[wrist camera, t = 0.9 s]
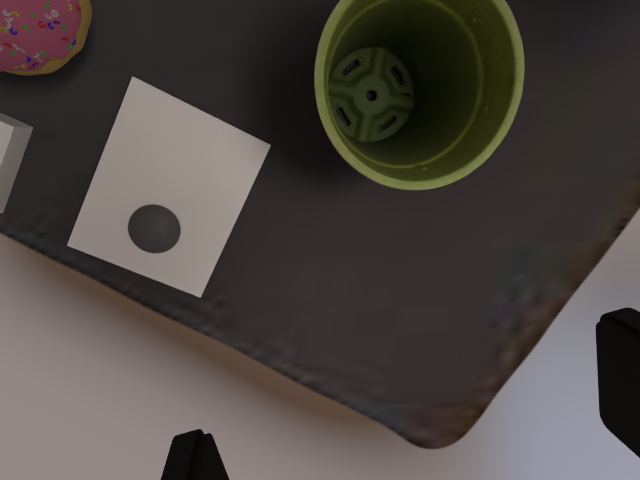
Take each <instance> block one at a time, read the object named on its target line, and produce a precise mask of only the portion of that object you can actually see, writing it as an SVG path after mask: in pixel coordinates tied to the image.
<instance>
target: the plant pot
mask: <svg viewBox="0 0 640 480" xmlns="http://www.w3.org/2000/svg"><path fill="white" fill-rule="evenodd" d="M370 57H371V58H370ZM354 60H359V65H358V66H356V67H355V68H353V69H352V70H351V71H350V72H348V74H347V75H346V76H345V75H344V73H343V72H342V71H343V70H344V68H345V67H347V66H348V65H350V64H351V62H353V61H354ZM392 67H396V68H397V69H398V71H399V72H400V74H401V75H402V78H403V84H399V83H398V81H397V79H396V77H395V76H394V74H393V73H392V71H391V68H392ZM523 81H524V52H523V45H522V40H521V36H520V33H519V29H518V26H517V24H516V21H515V18H514V16H513V14H512V12H511V10H510V8H509V6H508V4H507V3H506V1H505V0H340V1H339V3H338V4H337V5H336V7H335V8H334V10H333V12H332V13H331V15H330V17H329V19H328V20H327V23H326V25H325V27H324V29H323V32H322V35H321V38H320V41H319V44H318V50H317V55H316V60H315V70H314V89H315V97H316V103H317V108H318V112H319V116H320V119H321V121H322V124H323V127H324V129H325V131H326V133H327V135H328V137H329V139H330V141H331V142H332V144H333V145H334V147H335V148H336V150H337V151H338V152H339V154H340V155H341V156H342V157H343V158H344V159H345V160H346V161H347V162H348V163H349V164H350V165H351V166H352V167H353V168H354V169H356V170H357V171H358V172H360V173H361V174H363V175H364V176H366V177H367V178H369V179H371V180H373V181H375V182H377V183H379V184H382V185H385V186H388V187H392V188H397V189H403V190H425V189H432V188H437V187H441V186H444V185H447V184H450V183H453V182H455V181H457V180H459V179H461V178H463V177H465V176H466V175H468V174H469V173H471V172H472V171H473V170H475V169H476V168H478V167H479V166H480V165H481V164H482V163H484V162H485V161H486V160H487V159H488V158H489V157H490V155H491V154H492V153H493V152H494V151H495V149H496V148H497V147H498V146H499V144H500V143H501V141H502V140H503V138H504V137H505V135H506V134H507V132H508V130H509V128H510V126H511V124H512V122H513V120H514V117H515V115H516V112H517V109H518V106H519V103H520V99H521V95H522V90H523ZM369 91H374V92H375V93H376V98H375V99H374V100H373V101H372V100H369V99H368V97H367V93H368V92H369ZM400 93H407V94H411V95H412V97H411V96H407V95H402V94H400ZM333 96H334V97H335V98H334V97H333ZM338 108H342V110H343V112H344V113H345V115H346V117H347V119H348V120H349V121H350V122H351V123H350V125H348V126H347V125H345V124H344V122H343V121H342V120H341V118H340V117H339V115H338V113H337V109H338ZM392 117H395V118H397V119H396V120H395V121H394V122H393V123H392V124H391V125H390V126H389V127H388V128H386V129H384V130H382V129H381V126H382V125H384V124H385V123H387V122H388V121H389V120H390V119H391V118H392Z"/></svg>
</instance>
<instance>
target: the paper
mask: <svg viewBox="0 0 640 480" xmlns="http://www.w3.org/2000/svg"><path fill="white" fill-rule="evenodd" d="M270 146H271V145H270V144H268V143H266V142H264V141H262V140H260V139H258V138H256V137H254V136H252V135H249V134H247V133H245V132H243V131H241V130H239V129H237V128H235V127H233V126H231V125H229V124H227V123H225V122H223V121H221V120H219V119H217V118H215V117H213V116H211V115H209V114H207V113H205V112H203V111H201V110H199V109H197V108H195V107H193V106H191V105H189V104H187V103H185V102H183V101H181V100H179V99H177V98H175V97H173V96H171V95H169V94H167V93H165V92H163V91H161V90H159V89H157V88H155V87H153V86H151V85H149V84H147V83H145V82H143V81H141V80H139V79H137V78H135V77H133V76H132V79H131V81H130V84H129V86H128V89H127V92H126V94H125V97H124V99H123V102H122V104H121V107H120V110H119V112H118V115H117V117H116V120H115V123H114V125H113V128H112V130H111V133H110V135H109V138H108V141H107V143H106V146H105V148H104V151H103V154H102V156H101V159H100V161H99V164H98V166H97V169H96V172H95V174H94V177H93V179H92V182H91V185H90V187H89V190H88V192H87V195H86V197H85V200H84V203H83V205H82V208H81V210H80V213H79V215H78V218H77V221H76V223H75V226H74V228H73V231H72V234H71V236H70V239H69V241H68V244H67V246H69V247H72V248H74V249H77V250H80V251H82V252H85V253H87V254H90V255H92V256H95V257H97V258H100V259H103V260H105V261H108V262H110V263H113V264H115V265H118V266H121V267H123V268H126V269H128V270H131V271H133V272H136V273H138V274H141V275H144V276H146V277H149V278H151V279H154V280H156V281H159V282H162V283H164V284H167V285H169V286H172V287H174V288H177V289H179V290H182V291H185V292H187V293H190V294H192V295H195V296H197V297H200V298H201V296H202V293H203V291H204V289H205V287H206V285H207V283H208V280H209V278H210V276H211V274H212V272H213V270H214V267H215V265H216V263H217V261H218V259H219V257H220V254H221V252H222V250H223V248H224V246H225V244H226V241H227V239H228V237H229V235H230V233H231V231H232V228H233V226H234V224H235V222H236V220H237V218H238V215H239V213H240V211H241V209H242V207H243V205H244V203H245V200H246V198H247V196H248V194H249V192H250V190H251V187H252V185H253V183H254V181H255V179H256V177H257V174H258V172H259V170H260V168H261V166H262V164H263V161H264V159H265V157H266V155H267V153H268V151H269V148H270Z"/></svg>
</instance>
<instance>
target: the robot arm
mask: <svg viewBox="0 0 640 480" xmlns="http://www.w3.org/2000/svg"><path fill="white" fill-rule="evenodd" d="M596 345H597V367H598V389H599V410H600V417H601V419H602V421H603V423H604V425H605V426H606V428H607V429H608V430H609V431H610V432H611V433H613V434H614V435H615V436H616V437H617V438H618V439H619V440H620V441H621V442H623V443H624V444H625V445H626V446H627V447H628V448H629V449H630V450H632V451H633V452H634V453H635V454H636V455H637V456H638V457H639V458H640V312H638V311H637V310H635V309H632V308H623V309H619V310H616V311H612V312H609V313H605V314H603V315H602V316H601V318H600V322H598V323H597V325H596ZM161 480H229V478H228V475H227V473H226V470H225V467H224V465H223V462H222V460H221V457H220V454H219V452H218V449H217V446H216V444H215V441H214V439H213V436H212V435H211V434H210V433H208V434H204V433H203V431H202V430H201V429H198V430H194V431H190V432H187V433H183V434H180V435H177V436H175V437H174V438H173V440H172V444H171V447H170V451H169V454H168V457H167V461H166V464H165V467H164V471H163V475H162V478H161Z"/></svg>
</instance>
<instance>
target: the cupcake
mask: <svg viewBox="0 0 640 480" xmlns="http://www.w3.org/2000/svg"><path fill="white" fill-rule="evenodd" d="M91 19H92V7H91V3H90V0H0V72H2V71H5V72H9V73H13V74H18V75H37V74H48V73H52V72H54V71H56V70H58V69H59V68H61V67H62V66H63V65H64V64H66V63H67V62H68V61H69V60H70V59H71V58H72V57H73V56H74V55H75V54H77V53H78V52H79V51H80V50H81V49H82V48H83V46H84V43H85V40H86V37H87V33H88V29H89V26H90V23H91Z"/></svg>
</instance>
